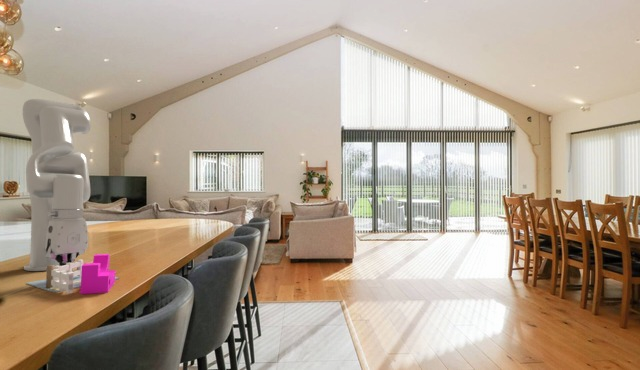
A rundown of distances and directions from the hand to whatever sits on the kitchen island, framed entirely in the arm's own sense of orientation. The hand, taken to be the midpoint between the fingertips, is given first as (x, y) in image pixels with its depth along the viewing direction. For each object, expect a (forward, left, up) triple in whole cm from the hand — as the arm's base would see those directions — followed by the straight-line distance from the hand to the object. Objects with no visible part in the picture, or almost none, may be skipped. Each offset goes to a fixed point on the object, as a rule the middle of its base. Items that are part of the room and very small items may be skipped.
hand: (65, 275), depth 106 cm
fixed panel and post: (+11, -7, -1) cm, 13 cm away
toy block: (+15, +2, -1) cm, 15 cm away
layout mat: (+3, +1, -1) cm, 4 cm away
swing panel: (+3, -1, -1) cm, 3 cm away
